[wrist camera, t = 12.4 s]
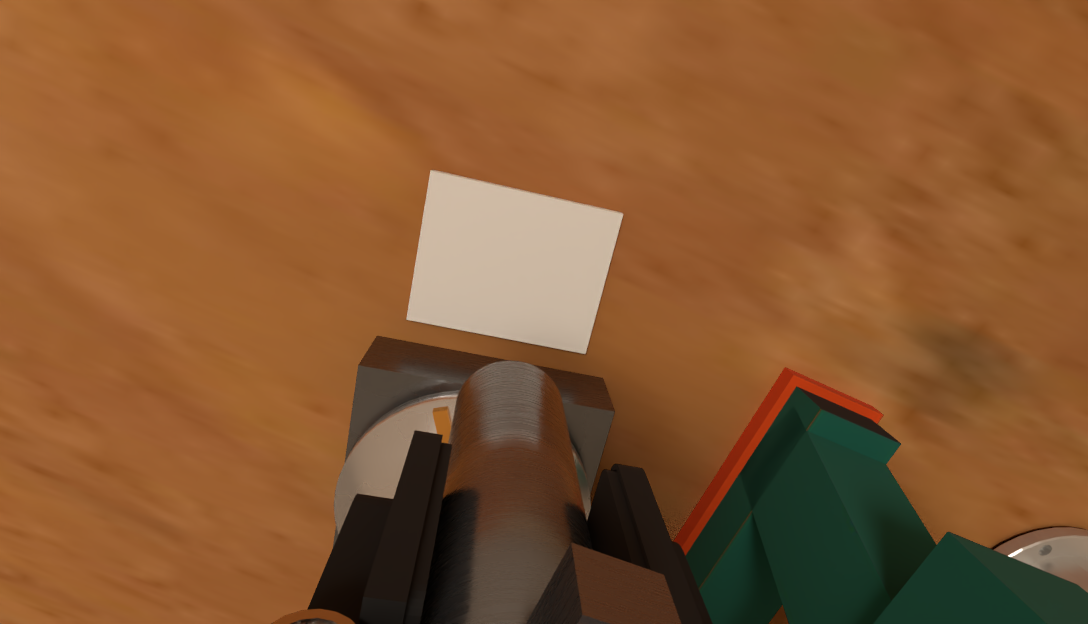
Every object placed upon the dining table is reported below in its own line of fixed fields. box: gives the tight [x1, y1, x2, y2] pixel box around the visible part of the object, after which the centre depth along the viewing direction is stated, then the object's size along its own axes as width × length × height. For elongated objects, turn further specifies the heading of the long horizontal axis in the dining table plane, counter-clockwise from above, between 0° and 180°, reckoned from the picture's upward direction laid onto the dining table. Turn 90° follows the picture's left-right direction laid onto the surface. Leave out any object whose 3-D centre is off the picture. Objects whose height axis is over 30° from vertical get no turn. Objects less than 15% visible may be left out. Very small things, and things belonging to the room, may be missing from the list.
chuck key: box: [420, 361, 681, 624], centre depth 11 cm, size 3×6×10 cm, turn 155°
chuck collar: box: [334, 390, 591, 534], centre depth 27 cm, size 13×14×6 cm
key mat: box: [406, 170, 623, 354], centre depth 30 cm, size 10×8×1 cm
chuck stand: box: [333, 336, 615, 547], centre depth 32 cm, size 13×13×4 cm
